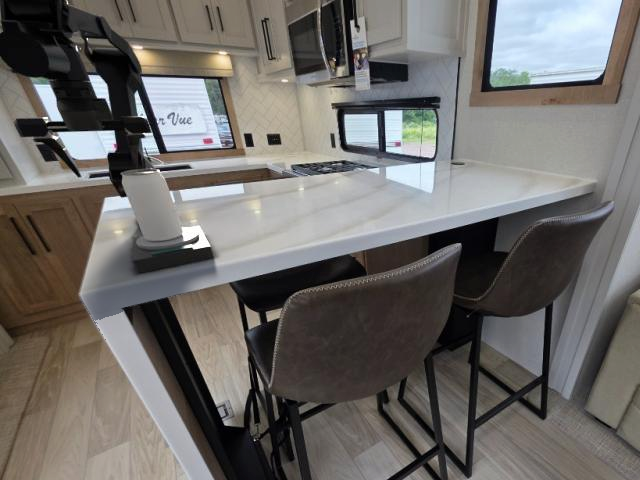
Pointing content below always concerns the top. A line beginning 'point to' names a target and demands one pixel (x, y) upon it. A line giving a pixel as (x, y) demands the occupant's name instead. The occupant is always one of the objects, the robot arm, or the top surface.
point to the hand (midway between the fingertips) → (109, 174)
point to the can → (152, 204)
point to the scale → (171, 250)
